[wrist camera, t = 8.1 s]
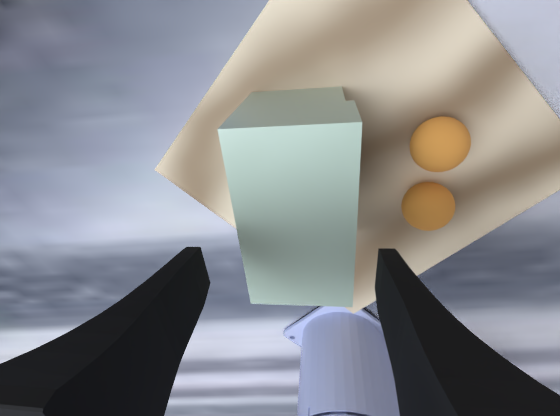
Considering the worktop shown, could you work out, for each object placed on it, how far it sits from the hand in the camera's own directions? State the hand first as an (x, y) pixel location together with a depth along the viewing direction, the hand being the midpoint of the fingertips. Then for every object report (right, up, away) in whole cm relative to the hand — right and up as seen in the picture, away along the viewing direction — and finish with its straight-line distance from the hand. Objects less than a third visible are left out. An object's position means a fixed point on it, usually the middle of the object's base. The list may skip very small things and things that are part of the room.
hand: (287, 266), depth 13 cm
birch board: (+5, +5, +8) cm, 11 cm away
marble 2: (+9, +2, +6) cm, 11 cm away
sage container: (+1, +5, +8) cm, 9 cm away
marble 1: (+8, +6, +4) cm, 11 cm away
